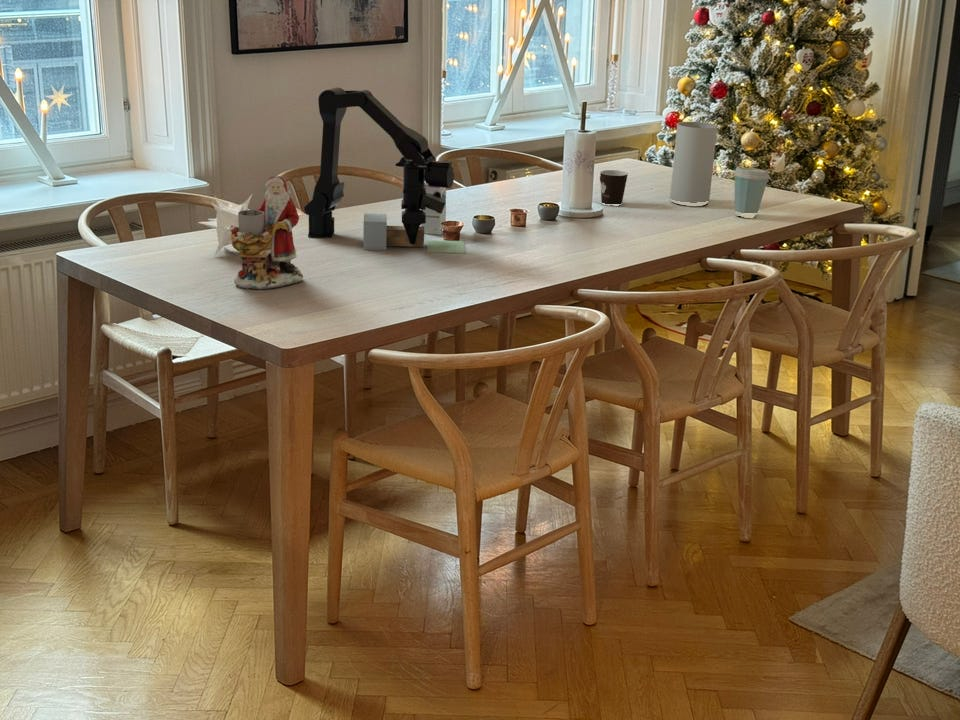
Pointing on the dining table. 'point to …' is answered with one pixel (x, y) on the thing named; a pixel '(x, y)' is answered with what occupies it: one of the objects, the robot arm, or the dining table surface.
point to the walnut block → (403, 237)
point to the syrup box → (434, 213)
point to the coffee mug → (612, 186)
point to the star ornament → (225, 221)
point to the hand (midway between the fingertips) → (412, 241)
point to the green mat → (445, 246)
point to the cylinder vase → (693, 162)
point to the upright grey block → (374, 231)
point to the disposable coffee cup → (749, 189)
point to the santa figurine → (267, 240)
